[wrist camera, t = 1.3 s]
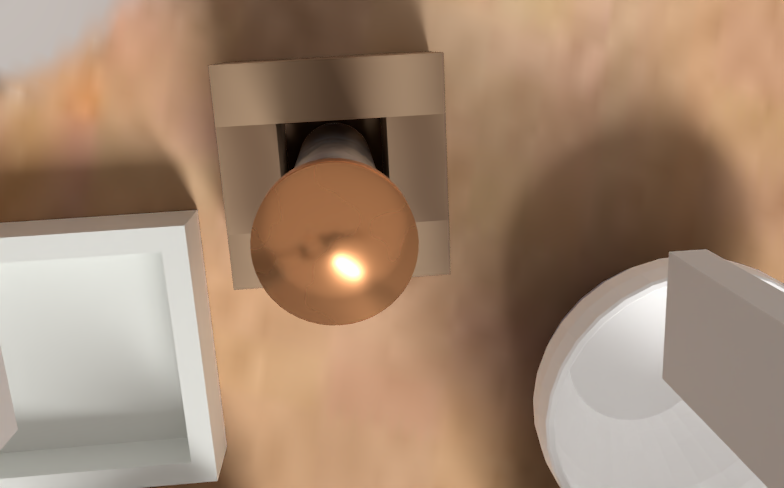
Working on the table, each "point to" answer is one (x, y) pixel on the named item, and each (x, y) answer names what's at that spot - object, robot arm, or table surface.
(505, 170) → the table surface
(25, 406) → the tray
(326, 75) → the socket block
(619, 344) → the bowl
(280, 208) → the pin
